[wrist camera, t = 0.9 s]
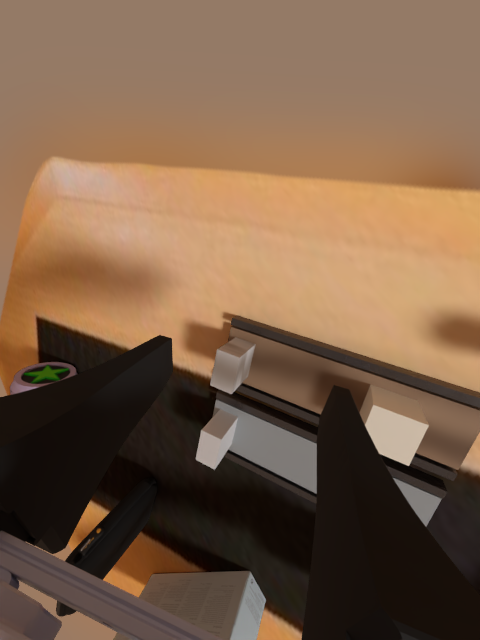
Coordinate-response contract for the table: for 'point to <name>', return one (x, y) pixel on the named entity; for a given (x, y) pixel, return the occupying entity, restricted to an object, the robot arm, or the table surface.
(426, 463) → the lane rails
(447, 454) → the strip
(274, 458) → the strip
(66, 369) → the headphones
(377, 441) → the cube
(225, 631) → the skincare box
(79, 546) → the carrying case or bag
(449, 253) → the table surface
